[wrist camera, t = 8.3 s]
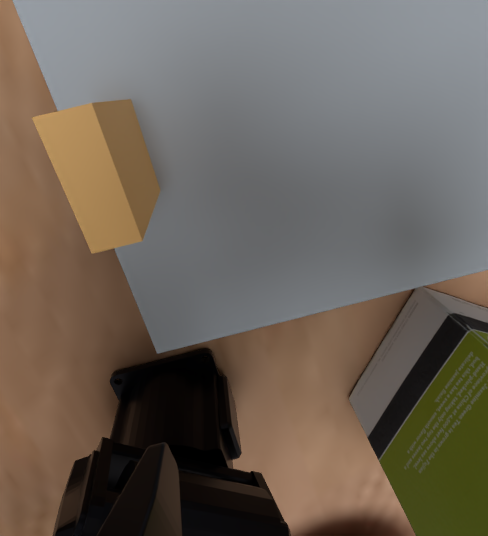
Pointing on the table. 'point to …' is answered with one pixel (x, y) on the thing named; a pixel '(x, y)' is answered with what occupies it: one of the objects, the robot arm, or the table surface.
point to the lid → (268, 149)
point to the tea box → (432, 413)
